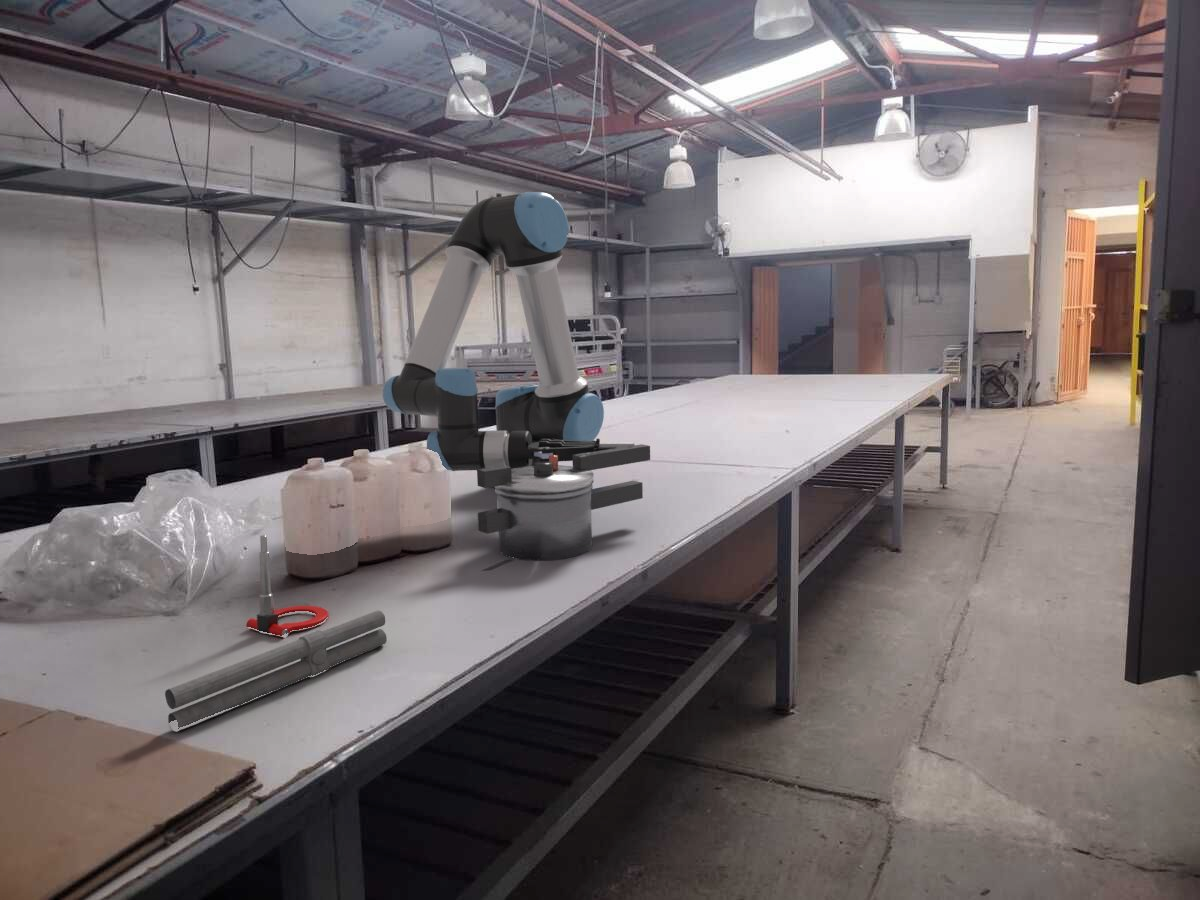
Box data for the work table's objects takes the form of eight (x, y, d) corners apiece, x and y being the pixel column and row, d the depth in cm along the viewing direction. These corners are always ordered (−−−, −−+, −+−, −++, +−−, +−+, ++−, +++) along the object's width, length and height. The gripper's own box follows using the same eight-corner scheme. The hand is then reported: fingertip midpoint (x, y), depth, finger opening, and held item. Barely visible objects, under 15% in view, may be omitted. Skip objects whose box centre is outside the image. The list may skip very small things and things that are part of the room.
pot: (507, 521, 156) (505, 465, 154) (643, 521, 154) (642, 464, 152) (477, 563, 130) (474, 497, 128) (640, 564, 128) (639, 496, 126)
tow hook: (298, 609, 113) (241, 630, 105) (294, 519, 111) (235, 533, 103) (342, 620, 109) (285, 642, 101) (338, 526, 107) (280, 541, 99)
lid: (509, 502, 123) (508, 477, 123) (456, 484, 136) (455, 462, 136) (677, 471, 144) (677, 449, 144) (617, 458, 157) (617, 438, 157)
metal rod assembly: (181, 739, 78) (175, 691, 77) (167, 730, 80) (161, 683, 79) (392, 647, 99) (390, 609, 98) (378, 642, 100) (375, 604, 99)
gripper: (516, 463, 160) (635, 463, 158) (504, 476, 147) (633, 476, 145) (515, 426, 159) (635, 425, 157) (502, 436, 146) (632, 435, 144)
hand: (634, 450), depth 151 cm, fingers closed
